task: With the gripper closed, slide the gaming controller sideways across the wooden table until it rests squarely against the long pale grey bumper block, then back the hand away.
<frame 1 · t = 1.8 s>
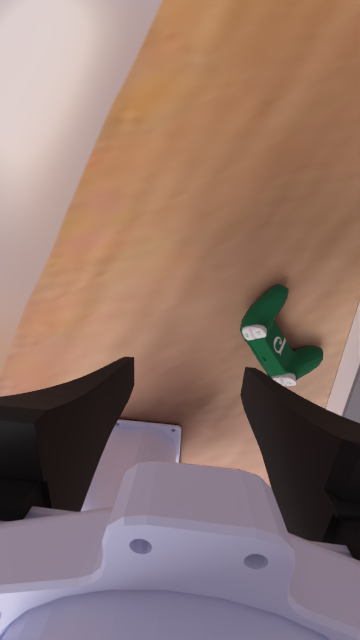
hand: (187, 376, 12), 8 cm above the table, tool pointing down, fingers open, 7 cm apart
gaming controller: (272, 332, 20), on the table
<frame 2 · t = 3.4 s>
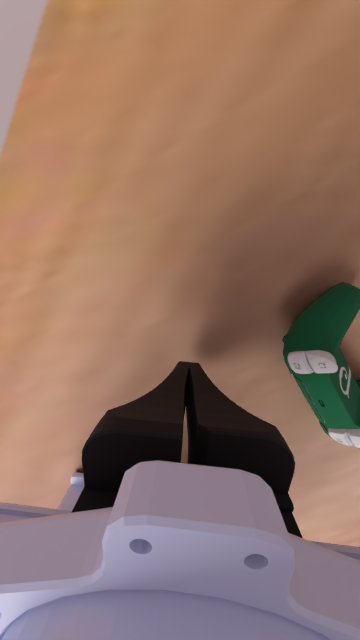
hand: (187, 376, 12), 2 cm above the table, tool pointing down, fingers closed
gaming controller: (321, 354, 13), on the table
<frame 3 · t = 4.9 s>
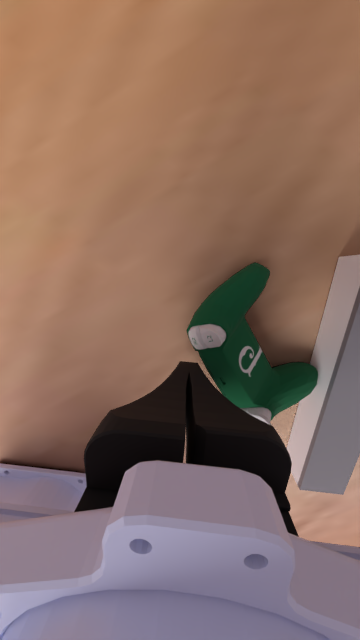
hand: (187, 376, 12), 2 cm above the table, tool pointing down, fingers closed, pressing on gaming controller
bumper: (328, 374, 13), on the table
gaming controller: (244, 338, 13), on the table, touching bumper, gripper
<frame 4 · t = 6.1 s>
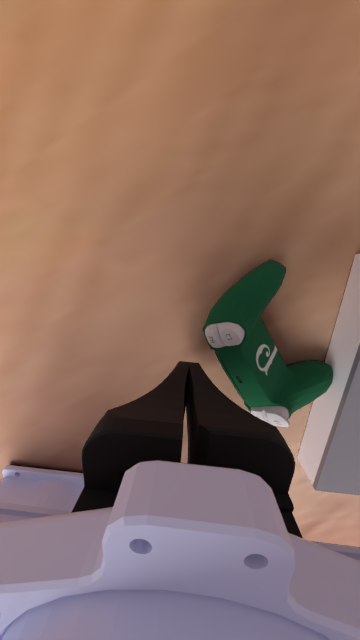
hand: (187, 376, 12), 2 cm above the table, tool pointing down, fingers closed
bumper: (343, 373, 13), on the table
gaming controller: (258, 336, 13), on the table, touching bumper
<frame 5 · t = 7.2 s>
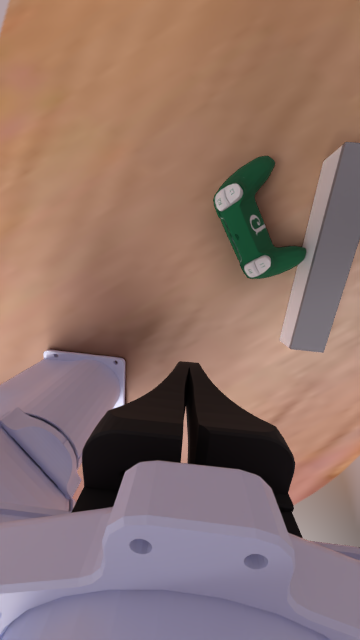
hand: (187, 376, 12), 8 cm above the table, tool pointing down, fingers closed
bumper: (314, 262, 17), on the table
gaming controller: (252, 230, 17), on the table
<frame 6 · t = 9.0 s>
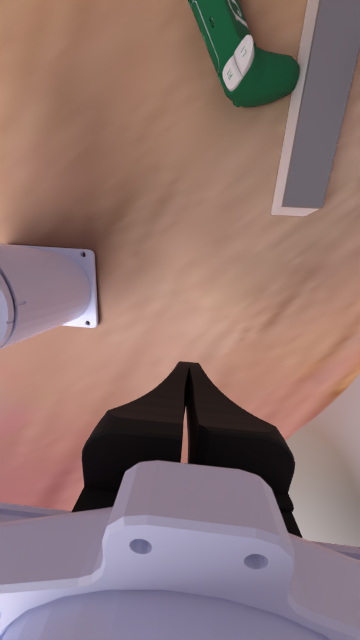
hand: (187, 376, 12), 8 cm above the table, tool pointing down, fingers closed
bumper: (309, 103, 14), on the table
gaming controller: (235, 59, 14), on the table
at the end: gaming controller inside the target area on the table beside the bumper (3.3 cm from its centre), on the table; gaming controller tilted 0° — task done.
